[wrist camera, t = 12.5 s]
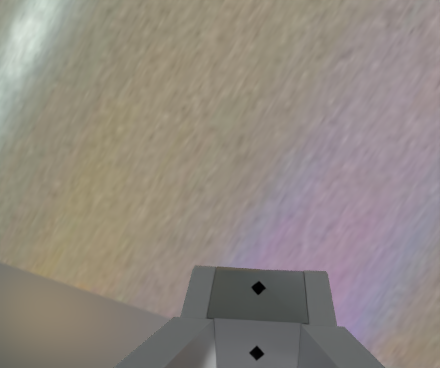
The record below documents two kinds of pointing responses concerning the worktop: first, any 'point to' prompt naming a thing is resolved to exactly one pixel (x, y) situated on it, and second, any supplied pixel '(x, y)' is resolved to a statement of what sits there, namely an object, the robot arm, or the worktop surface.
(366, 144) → the worktop surface
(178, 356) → the robot arm
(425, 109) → the worktop surface
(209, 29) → the worktop surface
